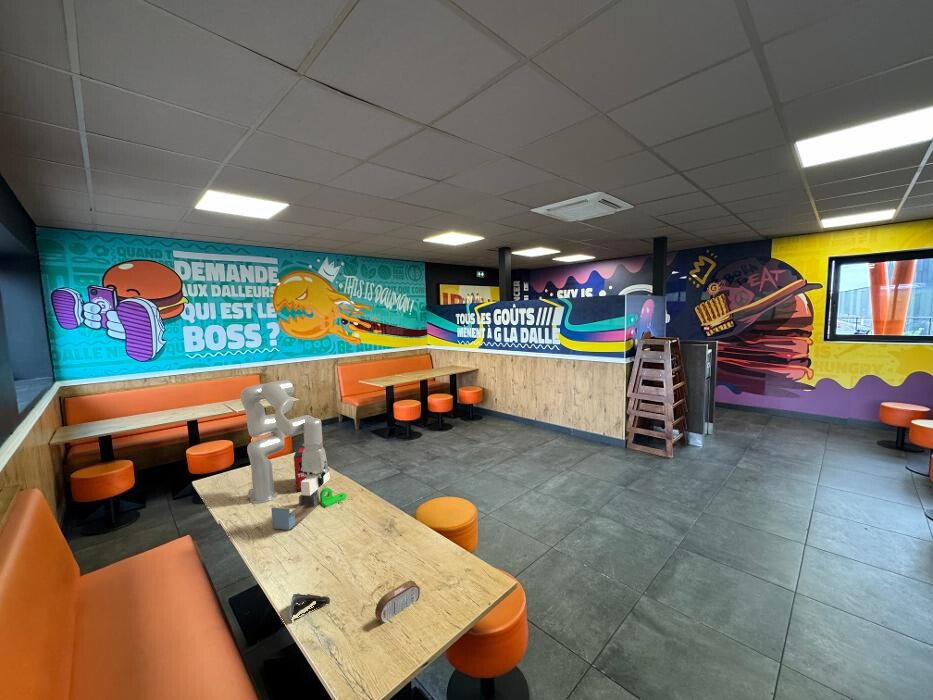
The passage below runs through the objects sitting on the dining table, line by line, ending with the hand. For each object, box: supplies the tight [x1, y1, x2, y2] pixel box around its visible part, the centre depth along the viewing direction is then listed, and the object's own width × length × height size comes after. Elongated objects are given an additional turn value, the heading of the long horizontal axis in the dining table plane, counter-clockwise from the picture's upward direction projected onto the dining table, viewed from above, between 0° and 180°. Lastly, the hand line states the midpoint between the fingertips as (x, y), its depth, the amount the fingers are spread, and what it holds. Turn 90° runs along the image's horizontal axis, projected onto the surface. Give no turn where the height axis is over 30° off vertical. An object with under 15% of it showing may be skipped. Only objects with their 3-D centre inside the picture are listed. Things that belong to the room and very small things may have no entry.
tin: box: [374, 580, 421, 624], centre depth 116 cm, size 15×3×8 cm, turn 133°
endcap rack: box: [272, 489, 321, 531], centre depth 173 cm, size 9×23×10 cm, turn 170°
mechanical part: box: [319, 486, 347, 508], centre depth 186 cm, size 12×6×8 cm, turn 138°
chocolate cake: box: [288, 592, 331, 619], centre depth 118 cm, size 10×7×12 cm
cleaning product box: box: [293, 445, 307, 493], centre depth 205 cm, size 16×9×20 cm, turn 17°
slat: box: [300, 466, 331, 496], centre depth 169 cm, size 4×16×6 cm, turn 170°
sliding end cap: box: [271, 507, 295, 531], centre depth 164 cm, size 8×4×9 cm, turn 80°
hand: (316, 484), depth 169 cm, fingers closed on slat, 4 cm apart
